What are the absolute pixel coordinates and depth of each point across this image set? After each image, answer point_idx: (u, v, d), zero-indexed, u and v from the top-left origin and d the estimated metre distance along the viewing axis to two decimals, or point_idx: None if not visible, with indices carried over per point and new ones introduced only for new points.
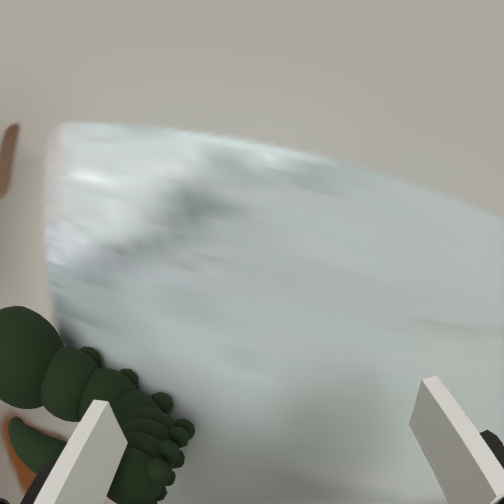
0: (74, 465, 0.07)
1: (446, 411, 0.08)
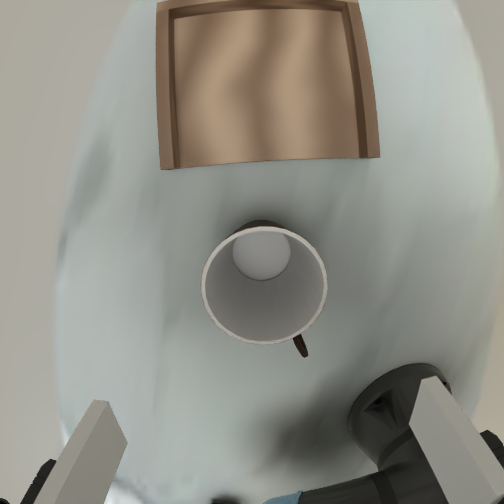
0: (74, 465, 0.07)
1: (446, 411, 0.08)
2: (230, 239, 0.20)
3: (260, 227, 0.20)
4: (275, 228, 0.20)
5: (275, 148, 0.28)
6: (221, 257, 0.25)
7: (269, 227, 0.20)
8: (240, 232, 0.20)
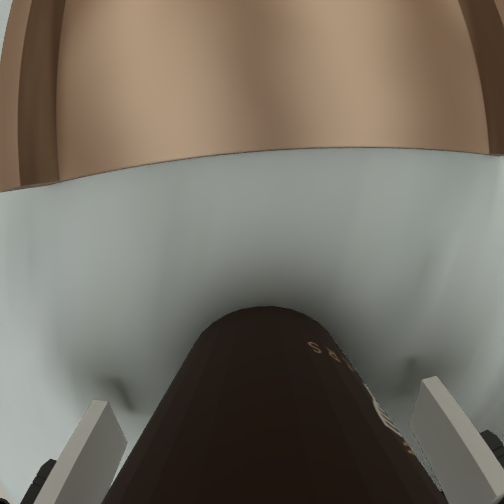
0: (74, 465, 0.07)
1: (446, 411, 0.08)
2: None
3: None
4: None
5: (301, 114, 0.09)
6: None
7: None
8: None
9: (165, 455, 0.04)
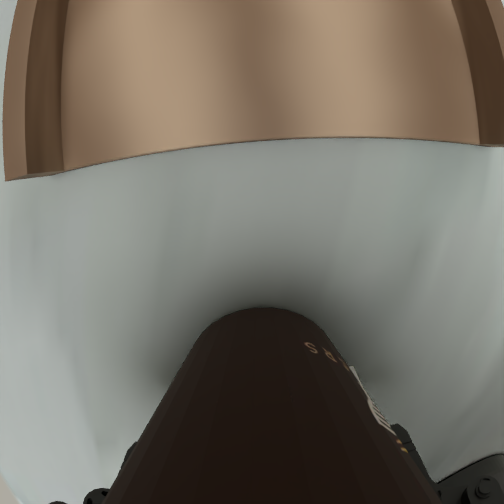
0: None
1: None
2: None
3: None
4: None
5: (295, 106, 0.10)
6: None
7: None
8: None
9: (166, 451, 0.05)
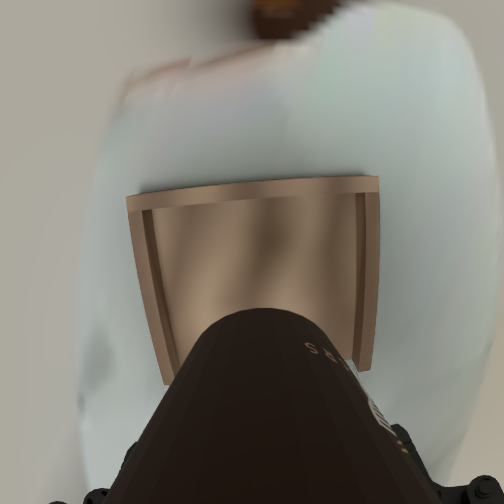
0: None
1: None
2: None
3: None
4: None
5: None
6: None
7: None
8: None
9: (165, 452, 0.05)
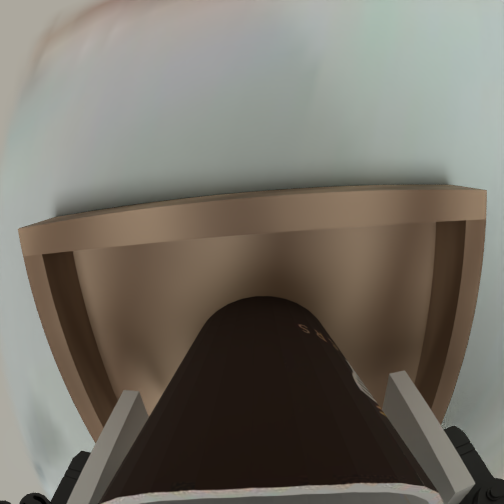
0: (110, 454, 0.08)
1: (410, 405, 0.09)
2: (141, 500, 0.04)
3: (255, 491, 0.03)
4: (320, 488, 0.03)
5: None
6: None
7: (295, 489, 0.03)
8: (173, 494, 0.04)
9: (182, 407, 0.06)
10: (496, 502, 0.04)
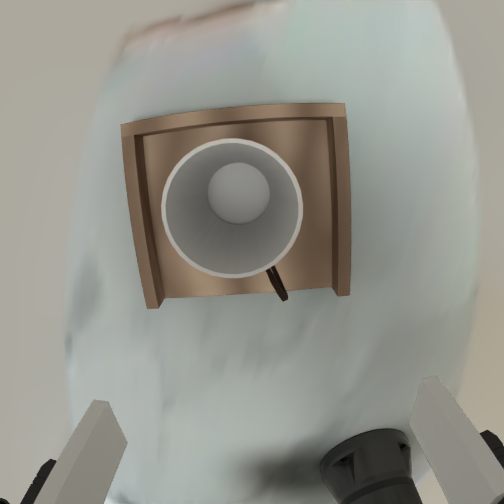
0: (74, 465, 0.07)
1: (446, 411, 0.08)
2: (192, 153, 0.18)
3: (224, 139, 0.17)
4: (240, 140, 0.17)
5: (250, 282, 0.31)
6: (189, 188, 0.22)
7: (234, 139, 0.17)
8: (202, 145, 0.17)
9: None
10: None
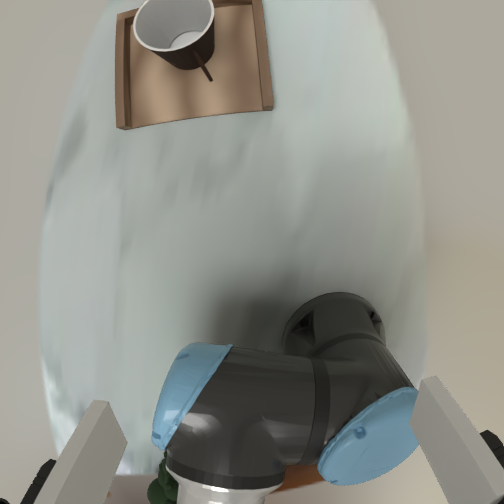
0: (74, 465, 0.07)
1: (446, 411, 0.08)
2: None
3: None
4: None
5: (197, 108, 0.36)
6: (154, 29, 0.28)
7: None
8: None
9: None
10: None
